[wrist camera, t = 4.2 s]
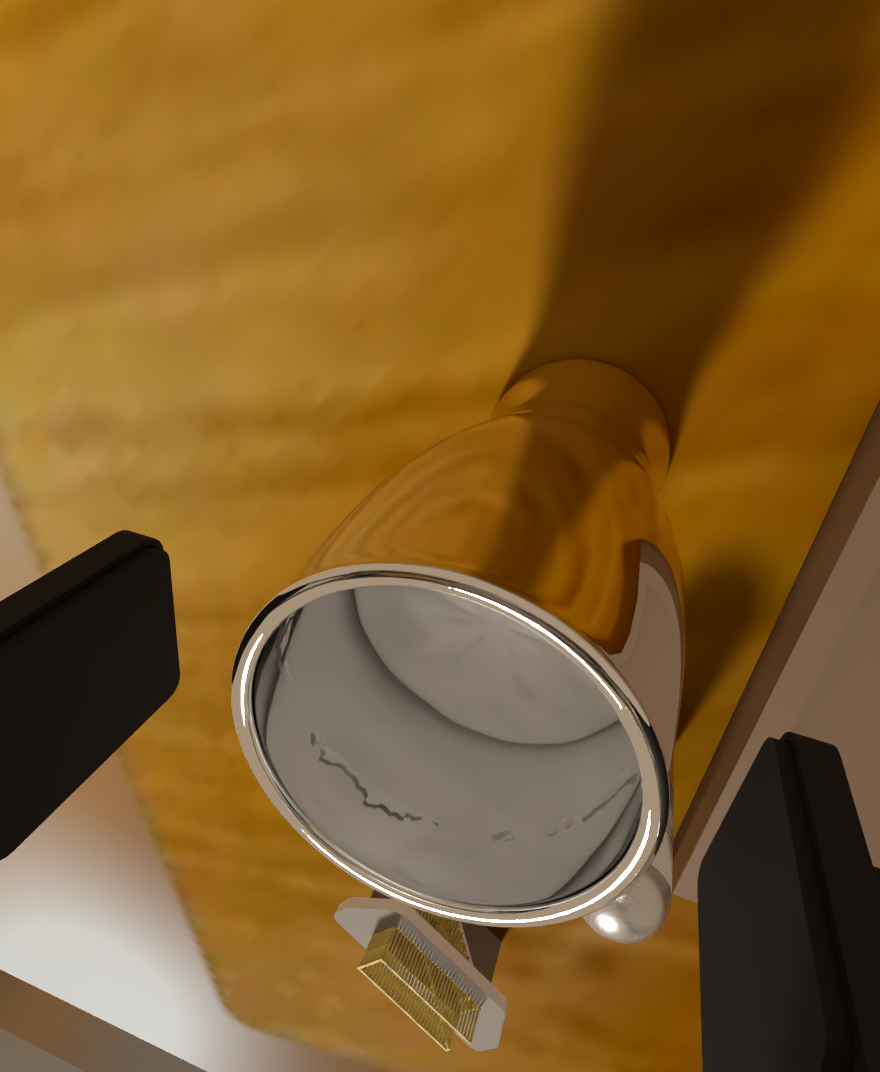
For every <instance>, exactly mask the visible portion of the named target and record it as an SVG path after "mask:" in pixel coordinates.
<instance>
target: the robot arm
mask: <svg viewBox="0 0 880 1072" xmlns="http://www.w3.org/2000/svg"><path fill="white" fill-rule="evenodd" d="M179 679H180V669H179V658H178V647H177V636H176V625H175V614H174V603H173V592H172V581H171V570H170V560H169V555H168V554H167V552H165V551H164V550H163V546H162V544H161V543H160V541H158V540H157V539H154V538H151V537H148V536H144V535H141V534H138V533H135V532H131V531H128V530H122V531H119V532H117V533H115V534H113V535H112V536H110V537H108V538H106V539H105V540H103V541H101V542H100V543H98V544H96V545H95V546H93V547H91V548H90V549H88V550H86V551H85V552H83V553H81V554H80V555H78V556H76V557H74V558H73V559H71V560H69V561H68V562H66V563H64V564H63V565H61V566H59V567H58V568H56V569H54V570H53V571H51V572H49V573H47V574H46V575H44V576H42V577H41V578H39V579H37V580H36V581H34V582H32V583H31V584H29V585H27V586H26V587H24V588H22V589H21V590H19V591H17V592H15V593H14V594H12V595H10V596H9V597H7V598H5V599H4V600H2V601H0V860H2V859H4V858H5V857H7V856H8V855H9V854H11V853H12V852H13V851H14V850H15V849H16V848H17V847H18V846H19V845H20V844H21V843H22V842H23V841H24V840H25V839H26V838H27V837H28V836H29V835H30V834H31V833H32V832H33V831H34V830H35V829H36V828H37V827H38V826H39V825H40V824H42V822H43V821H45V820H46V819H47V818H48V817H49V816H50V815H51V814H52V813H53V812H54V811H55V810H56V809H57V808H58V807H59V806H60V805H61V803H63V802H64V801H65V800H66V799H67V798H68V797H69V796H70V795H71V794H72V793H73V792H74V791H75V790H76V789H77V788H78V787H79V786H80V785H81V784H82V783H83V782H84V781H85V780H86V779H87V778H88V777H89V776H90V775H91V774H92V773H93V772H94V771H96V770H97V769H98V767H100V766H101V765H102V764H103V763H104V762H105V761H106V760H107V759H108V758H109V757H110V756H111V755H112V754H113V753H114V752H115V751H116V750H117V749H118V748H119V747H120V746H121V745H122V744H123V743H124V742H125V741H126V740H127V739H128V738H129V737H130V736H131V735H132V734H133V733H134V732H135V731H136V730H137V729H138V728H139V727H140V726H141V725H142V724H143V723H144V722H145V721H146V720H147V719H148V718H149V717H151V716H152V715H153V714H154V713H155V712H156V711H157V710H158V709H159V708H160V707H161V706H162V705H163V704H164V703H165V702H166V701H167V700H168V699H169V698H170V697H171V696H172V694H173V693H174V692H175V690H176V688H177V686H178V683H179ZM697 894H698V927H699V959H700V992H701V1025H702V1057H703V1072H880V868H877V867H875V866H873V864H872V860H871V857H870V854H869V850H868V847H867V844H866V840H865V837H864V833H863V830H862V827H861V823H860V820H859V816H858V813H857V810H856V806H855V803H854V800H853V796H852V793H851V789H850V786H849V783H848V779H847V776H846V773H845V769H844V766H843V762H842V759H841V756H840V753H839V751H838V749H837V747H836V746H834V745H833V744H830V743H826V742H823V741H820V740H816V739H813V738H810V737H806V736H803V735H800V734H797V733H793V732H786V733H784V734H783V735H782V737H781V738H780V740H779V739H775V738H772V737H768V738H767V739H766V740H765V741H764V743H763V745H762V746H761V748H760V750H759V752H758V754H757V756H756V758H755V760H754V762H753V764H752V766H751V767H750V769H749V771H748V773H747V775H746V777H745V779H744V781H743V783H742V785H741V787H740V788H739V790H738V792H737V794H736V796H735V798H734V800H733V802H732V804H731V806H730V808H729V809H728V811H727V813H726V815H725V817H724V819H723V821H722V823H721V825H720V827H719V829H718V830H717V832H716V834H715V836H714V838H713V840H712V842H711V844H710V846H709V848H708V850H707V851H706V853H705V855H704V857H703V859H702V862H701V865H700V869H699V874H698V881H697ZM0 1072H206V1071H204V1070H202V1069H200V1068H198V1067H196V1066H194V1065H192V1064H190V1063H188V1062H186V1061H184V1060H182V1059H180V1058H178V1057H176V1056H174V1055H172V1054H170V1053H168V1052H166V1051H164V1050H162V1049H160V1048H158V1047H156V1046H154V1045H152V1044H150V1043H148V1042H146V1041H144V1040H142V1039H140V1038H137V1037H136V1036H134V1035H132V1034H130V1033H128V1032H126V1031H124V1030H122V1029H120V1028H118V1027H116V1026H113V1025H111V1024H110V1023H107V1022H105V1021H103V1020H101V1019H99V1018H97V1017H95V1016H93V1015H91V1014H89V1013H87V1012H85V1011H83V1010H81V1009H79V1008H77V1007H75V1006H73V1005H71V1004H69V1003H67V1002H65V1001H63V1000H61V999H59V998H57V997H55V996H53V995H51V994H49V993H47V992H45V991H43V990H40V989H38V988H37V987H35V986H32V985H30V984H28V983H26V982H24V981H22V980H20V979H18V978H16V977H14V976H12V975H10V974H8V973H6V972H4V971H2V970H0Z"/></svg>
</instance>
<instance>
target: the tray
mask: <svg viewBox="0 0 880 1072" xmlns="http://www.w3.org/2000/svg"><path fill="white" fill-rule="evenodd" d="M786 732H793V733H797V734H800V735H803V736H806V737H810V738H813V739H816V740H820V741H823V742H826V743H830V744H833V745H834V746H836V747H837V749H838V751H839V753H840V756H841V759H842V762H843V766H844V769H845V773H846V776H847V779H848V783H849V786H850V789H851V793H852V796H853V800H854V803H855V806H856V810H857V813H858V816H859V820H860V823H861V827H862V830H863V833H864V837H865V840H866V844H867V847H868V850H869V854H870V857H871V860H872V864H873V866H875V867H877V868H880V401H879V403H878V406H877V408H876V410H875V412H874V414H873V416H872V418H871V421H870V423H869V425H868V427H867V429H866V431H865V433H864V435H863V438H862V440H861V442H860V444H859V446H858V448H857V450H856V453H855V455H854V457H853V459H852V461H851V463H850V465H849V468H848V470H847V472H846V474H845V476H844V478H843V480H842V482H841V485H840V487H839V489H838V491H837V493H836V495H835V497H834V500H833V502H832V504H831V506H830V508H829V510H828V512H827V515H826V517H825V519H824V521H823V523H822V525H821V527H820V529H819V532H818V534H817V536H816V538H815V540H814V542H813V544H812V547H811V549H810V551H809V553H808V555H807V557H806V559H805V561H804V564H803V566H802V568H801V570H800V572H799V574H798V576H797V579H796V581H795V583H794V585H793V587H792V589H791V591H790V594H789V596H788V598H787V600H786V602H785V604H784V606H783V608H782V611H781V613H780V615H779V617H778V619H777V621H776V623H775V626H774V628H773V630H772V632H771V634H770V636H769V638H768V641H767V643H766V645H765V647H764V649H763V651H762V653H761V655H760V658H759V660H758V662H757V664H756V666H755V668H754V670H753V673H752V675H751V677H750V679H749V681H748V683H747V685H746V688H745V690H744V692H743V694H742V696H741V698H740V700H739V702H738V705H737V707H736V709H735V711H734V713H733V715H732V717H731V720H730V722H729V724H728V726H727V728H726V730H725V732H724V735H723V737H722V739H721V741H720V743H719V745H718V747H717V749H716V752H715V754H714V756H713V758H712V760H711V762H710V764H709V767H708V769H707V771H706V773H705V775H704V777H703V779H702V782H701V784H700V786H699V788H698V790H697V792H696V794H695V796H694V799H693V801H692V803H691V805H690V807H689V809H688V811H687V814H686V816H685V818H684V820H683V822H682V824H681V826H680V829H679V831H678V833H677V835H676V837H675V839H674V841H673V880H672V894H674V895H677V896H680V897H682V898H685V899H687V900H690V901H693V902H695V903H698V894H697V881H698V874H699V869H700V865H701V862H702V859H703V857H704V855H705V853H706V851H707V850H708V848H709V846H710V844H711V842H712V840H713V838H714V836H715V834H716V832H717V830H718V829H719V827H720V825H721V823H722V821H723V819H724V817H725V815H726V813H727V811H728V809H729V808H730V806H731V804H732V802H733V800H734V798H735V796H736V794H737V792H738V790H739V788H740V787H741V785H742V783H743V781H744V779H745V777H746V775H747V773H748V771H749V769H750V767H751V766H752V764H753V762H754V760H755V758H756V756H757V754H758V752H759V750H760V748H761V746H762V745H763V743H764V741H765V740H766V739H767V738H768V737H772V738H775V739H779V740H780V738H781V737H782V735H783V734H784V733H786Z"/></svg>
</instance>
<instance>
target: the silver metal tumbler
mask: <svg viewBox="0 0 880 1072" xmlns="http://www.w3.org/2000/svg"><path fill="white" fill-rule="evenodd" d="M669 460H670V436H669V430H668V426H667V423H666V419H665V417H664V414H663V412H662V410H661V408H660V406H659V404H658V403H657V401H656V400H655V398H654V397H653V395H652V394H651V393H650V392H649V391H648V389H647V388H646V387H645V386H644V385H643V384H642V383H640V382H639V381H638V380H637V379H636V378H634V377H633V376H631V375H630V374H628V373H627V372H625V371H623V370H621V369H619V368H617V367H615V366H612V365H609V364H606V363H603V362H599V361H594V360H587V359H568V360H561V361H556V362H552V363H549V364H546V365H543V366H540V367H538V368H536V369H534V370H532V371H530V372H529V373H527V374H526V375H524V376H523V377H521V378H520V379H519V380H517V381H516V382H515V383H514V384H513V385H512V386H511V387H510V388H509V389H508V390H507V392H506V393H505V394H504V395H503V397H502V398H501V399H500V401H499V402H498V404H497V406H496V408H495V409H494V412H493V414H492V416H491V419H490V420H488V421H485V422H482V423H479V424H477V425H474V426H471V427H468V428H466V429H464V430H461V431H459V432H457V433H455V434H453V435H451V436H449V437H447V438H445V439H443V440H441V441H440V442H438V443H436V444H434V445H432V446H430V447H428V448H426V449H425V450H423V451H421V452H420V453H418V454H417V455H416V456H414V457H413V458H412V459H410V460H409V461H408V462H406V463H405V464H404V465H402V466H401V467H400V468H399V469H397V470H396V471H395V472H393V473H392V474H391V475H390V476H388V477H387V478H386V479H384V480H383V481H382V482H381V483H380V484H378V485H377V486H376V487H375V488H374V489H373V490H372V491H371V492H370V493H369V494H368V495H367V496H366V497H365V498H364V499H363V500H362V501H361V502H360V503H359V504H358V505H357V506H356V507H355V508H354V509H353V510H352V511H351V512H350V513H349V514H348V515H347V516H346V517H345V518H344V519H343V520H342V521H341V522H340V523H339V524H338V526H337V527H336V528H335V529H334V530H333V531H332V532H331V534H330V535H329V536H328V537H327V538H326V539H325V540H324V541H323V543H322V544H321V545H320V546H319V547H318V548H317V549H316V551H315V552H314V553H313V554H312V555H311V556H310V558H309V559H308V560H307V561H306V562H305V564H304V565H303V566H302V567H301V569H300V570H299V571H298V572H297V573H296V575H295V576H294V577H293V578H292V579H291V581H290V582H289V583H288V584H287V585H286V586H285V587H284V589H283V590H282V591H281V592H280V593H278V594H277V595H276V596H275V597H273V598H272V599H271V600H270V601H269V602H268V603H267V604H266V605H265V606H264V607H263V608H262V609H261V610H260V611H259V613H258V614H257V615H256V616H255V618H254V619H253V620H252V622H251V624H250V625H249V627H248V628H247V630H246V632H245V634H244V636H243V638H242V640H241V642H240V645H239V647H238V650H237V653H236V657H235V661H234V665H233V671H232V679H231V702H232V712H233V718H234V723H235V728H236V731H237V735H238V738H239V741H240V744H241V747H242V750H243V752H244V755H245V757H246V759H247V762H248V764H249V766H250V768H251V770H252V772H253V774H254V775H255V777H256V779H257V781H258V782H259V784H260V786H261V787H262V789H263V790H264V792H265V793H266V795H267V796H268V798H269V799H270V801H271V802H272V803H273V805H274V806H275V807H276V809H277V810H278V811H279V812H280V813H281V815H282V816H283V817H284V818H285V819H286V821H287V822H288V823H289V824H290V825H291V826H292V827H293V828H294V829H295V830H296V831H297V832H298V833H299V834H300V835H301V836H302V837H303V838H304V839H305V840H306V841H307V842H308V843H309V844H310V845H311V846H312V847H314V848H315V849H316V850H317V851H318V852H319V853H321V854H322V855H323V856H324V857H325V858H327V859H328V860H329V861H331V862H332V863H333V864H335V865H336V866H337V867H339V868H340V869H342V870H343V871H344V872H346V873H347V874H349V875H350V876H352V877H354V878H355V879H357V880H358V881H360V882H362V883H363V884H365V885H367V886H368V887H370V888H372V889H374V890H376V891H378V892H380V893H382V894H383V895H385V896H387V897H390V898H392V899H394V900H396V901H398V902H401V903H403V904H405V905H408V906H410V907H413V908H416V909H418V910H421V911H424V912H427V913H430V914H433V915H436V916H440V917H443V918H447V919H451V920H455V921H460V922H465V923H470V924H476V925H483V926H493V927H512V928H520V927H537V926H546V925H552V924H558V923H562V922H567V921H570V920H574V919H577V918H580V917H583V916H586V915H588V914H591V913H593V912H595V911H597V910H599V909H601V908H603V907H605V906H607V905H609V904H610V903H612V902H613V901H615V900H616V899H618V898H619V897H621V896H622V895H623V894H624V893H626V892H627V891H628V890H629V889H630V888H631V887H633V886H634V885H635V884H636V883H637V882H638V880H639V879H640V878H641V877H642V876H643V875H644V873H645V872H646V871H647V870H648V868H649V867H650V865H651V864H652V862H653V860H654V858H655V857H656V855H657V853H658V851H659V849H660V846H661V843H662V841H663V838H664V835H665V831H666V827H667V823H668V817H669V808H670V787H669V782H670V775H671V767H672V760H673V754H674V748H675V742H676V736H677V729H678V723H679V715H680V707H681V700H682V692H683V684H684V673H685V654H686V635H687V618H686V603H685V589H684V577H683V569H682V563H681V559H680V555H679V551H678V548H677V544H676V540H675V537H674V533H673V530H672V526H671V523H670V520H669V517H668V514H667V512H666V509H665V507H664V505H663V502H662V500H661V498H660V495H659V491H660V489H661V487H662V485H663V483H664V480H665V477H666V474H667V470H668V466H669Z"/></svg>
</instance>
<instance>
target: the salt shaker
mask: <svg viewBox="0 0 880 1072" xmlns="http://www.w3.org/2000/svg"><path fill="white" fill-rule="evenodd" d="M669 787H670V808H669V817H668V823H667V827H666V831H665V835H664V838H663V841H662V843H661V846H660V849H659V851H658V853H657V855H656V857H655V858H654V860H653V862H652V864H651V865H650V867H649V868H648V870H647V871H646V872H645V873H644V875H643V876H642V877H641V878H640V879H639V880H638V882H637V883H636V884H635V885H634V886H633V887H631V888H630V889H629V890H628V891H627V892H626V893H624V894H623V895H622V896H621V897H619V898H618V899H616V900H615V901H613V902H612V903H610V904H609V905H607V906H605V907H603V908H601V909H599V910H597V911H595V912H593V913H591V914H588V915H586V916H583V919H584V920H585V921H586V922H587V924H588V925H589V926H590V927H591V928H592V929H594V930H595V931H596V932H597V933H598V934H600V935H602V936H603V937H605V938H607V939H610V940H612V941H616V942H620V943H635V942H640V941H643V940H645V939H647V938H649V937H651V936H652V935H654V934H655V933H656V932H657V931H658V930H659V929H660V928H661V927H662V925H663V924H664V922H665V921H666V919H667V916H668V914H669V911H670V907H671V900H672V854H673V794H674V754H673V760H672V767H671V775H670V782H669Z"/></svg>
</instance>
